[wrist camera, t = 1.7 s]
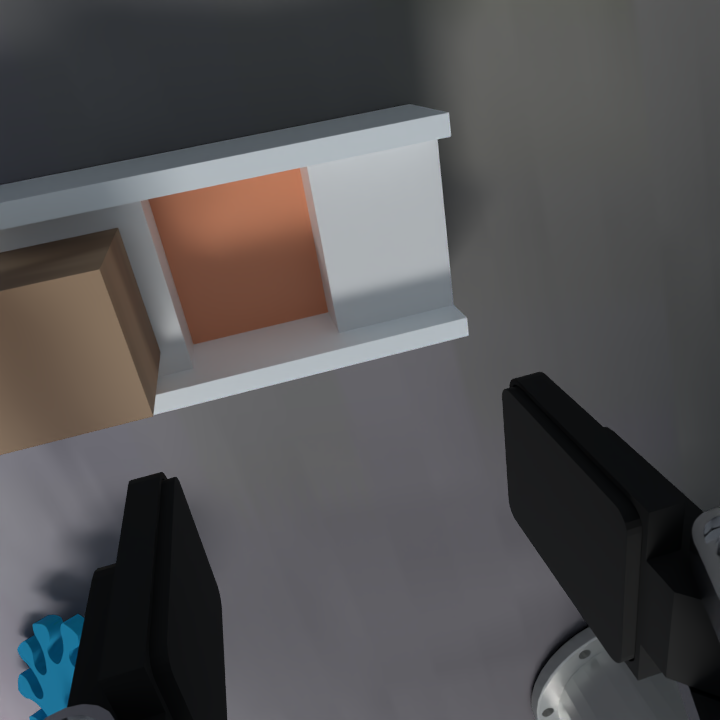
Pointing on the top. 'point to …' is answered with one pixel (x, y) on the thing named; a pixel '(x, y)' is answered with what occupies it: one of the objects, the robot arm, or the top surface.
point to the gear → (50, 663)
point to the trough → (269, 247)
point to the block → (72, 341)
